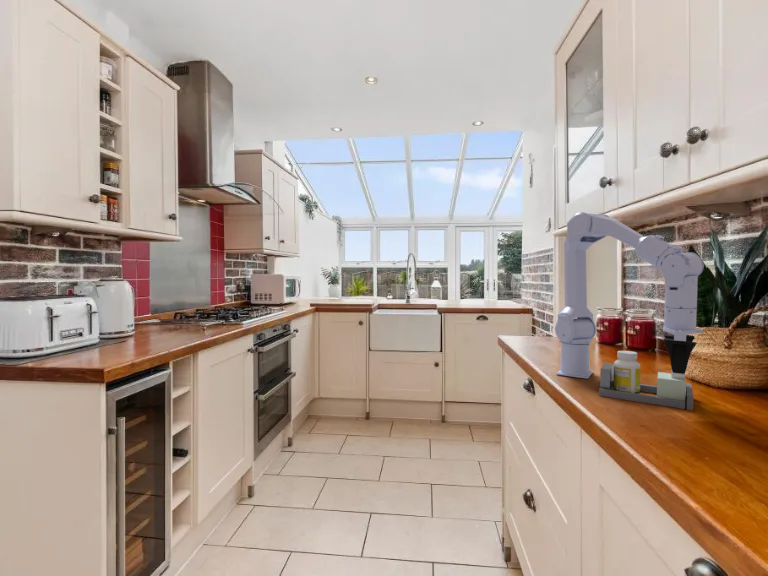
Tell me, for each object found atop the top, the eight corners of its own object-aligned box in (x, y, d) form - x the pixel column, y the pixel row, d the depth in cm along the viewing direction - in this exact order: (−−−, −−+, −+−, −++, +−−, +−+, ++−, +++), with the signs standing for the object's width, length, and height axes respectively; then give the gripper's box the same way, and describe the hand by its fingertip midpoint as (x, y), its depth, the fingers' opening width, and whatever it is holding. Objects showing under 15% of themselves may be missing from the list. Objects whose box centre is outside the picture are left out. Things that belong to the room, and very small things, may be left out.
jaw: (657, 393, 97) (658, 352, 96) (684, 397, 94) (685, 355, 94) (656, 400, 91) (658, 357, 91) (684, 405, 88) (686, 360, 88)
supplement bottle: (632, 391, 100) (634, 350, 99) (644, 397, 94) (645, 354, 94) (609, 390, 100) (610, 349, 100) (619, 396, 95) (620, 354, 95)
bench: (605, 385, 105) (605, 361, 104) (690, 397, 95) (691, 371, 95) (598, 395, 96) (599, 369, 95) (692, 410, 86) (693, 381, 86)
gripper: (705, 311, 83) (703, 379, 83) (701, 306, 95) (699, 366, 95) (662, 309, 87) (661, 374, 87) (663, 305, 99) (662, 362, 99)
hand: (678, 369), depth 92 cm, fingers open, 7 cm apart
